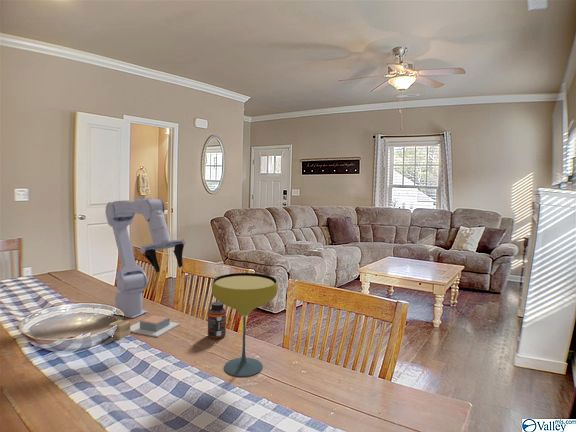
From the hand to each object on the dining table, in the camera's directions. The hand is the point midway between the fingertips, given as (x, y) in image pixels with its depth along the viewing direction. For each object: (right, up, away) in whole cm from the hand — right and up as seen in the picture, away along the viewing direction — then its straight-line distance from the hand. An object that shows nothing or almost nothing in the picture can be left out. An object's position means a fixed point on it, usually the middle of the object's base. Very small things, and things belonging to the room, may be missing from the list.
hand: (169, 269), depth 127 cm
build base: (-8, -22, +7) cm, 24 cm away
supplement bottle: (+15, -23, +2) cm, 28 cm away
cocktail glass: (+27, -25, -19) cm, 41 cm away
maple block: (-16, -22, 0) cm, 28 cm away
